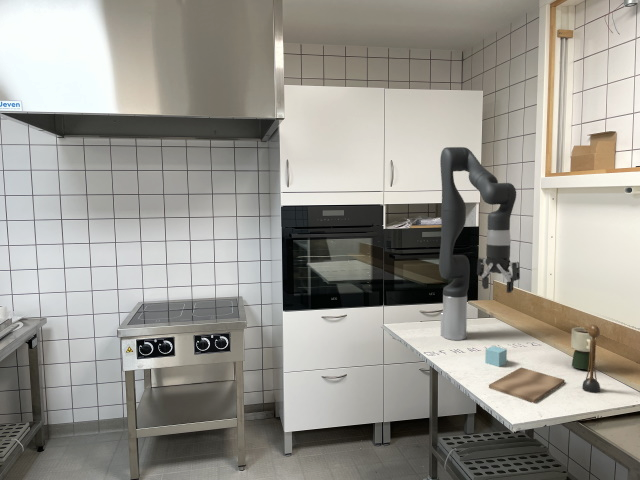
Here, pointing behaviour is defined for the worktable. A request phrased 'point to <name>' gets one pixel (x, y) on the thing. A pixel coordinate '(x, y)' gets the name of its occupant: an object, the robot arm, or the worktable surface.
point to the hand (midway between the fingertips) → (497, 290)
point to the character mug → (581, 348)
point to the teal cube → (496, 356)
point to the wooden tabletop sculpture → (592, 361)
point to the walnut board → (527, 384)
